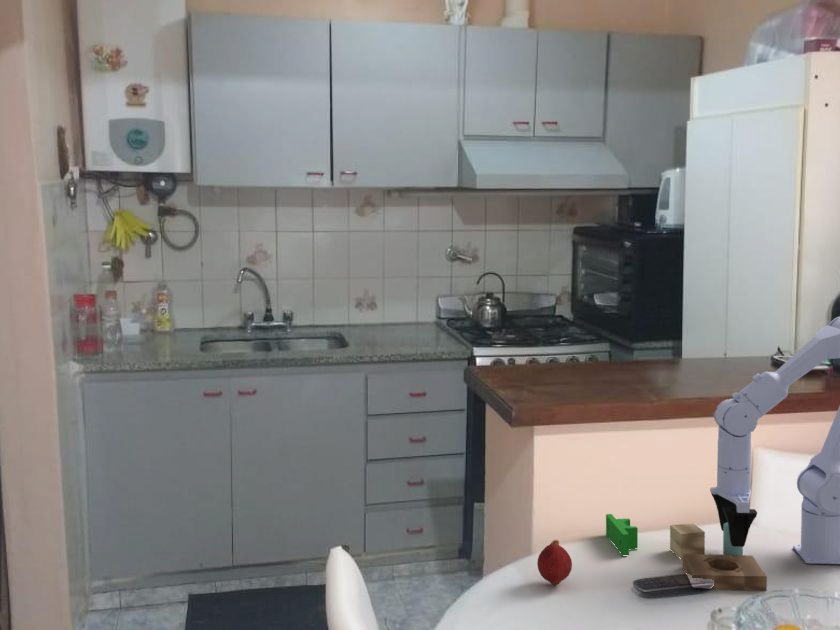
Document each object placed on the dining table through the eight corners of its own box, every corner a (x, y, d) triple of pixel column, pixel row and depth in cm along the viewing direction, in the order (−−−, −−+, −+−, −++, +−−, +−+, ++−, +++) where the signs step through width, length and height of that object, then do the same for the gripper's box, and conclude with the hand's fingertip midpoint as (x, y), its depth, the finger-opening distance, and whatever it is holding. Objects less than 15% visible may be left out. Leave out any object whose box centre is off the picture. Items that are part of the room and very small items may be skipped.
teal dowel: (740, 553, 159) (740, 522, 158) (744, 560, 156) (745, 528, 155) (721, 553, 159) (721, 522, 159) (725, 560, 156) (725, 528, 155)
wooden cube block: (693, 548, 162) (693, 523, 161) (704, 558, 157) (704, 531, 157) (670, 550, 161) (670, 525, 161) (680, 560, 157) (681, 533, 156)
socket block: (752, 569, 152) (752, 555, 152) (766, 590, 143) (766, 576, 143) (682, 567, 153) (682, 554, 153) (692, 589, 144) (692, 574, 144)
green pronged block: (642, 557, 159) (642, 533, 159) (622, 558, 159) (622, 534, 158) (624, 534, 170) (624, 512, 170) (605, 535, 170) (605, 513, 169)
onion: (550, 594, 144) (550, 548, 143) (531, 582, 149) (530, 537, 148) (578, 587, 146) (578, 542, 145) (558, 575, 151) (557, 531, 151)
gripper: (702, 454, 163) (701, 523, 165) (720, 477, 149) (719, 552, 150) (741, 455, 162) (739, 524, 164) (762, 478, 148) (760, 553, 150)
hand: (732, 538), depth 157 cm, fingers open, 7 cm apart
